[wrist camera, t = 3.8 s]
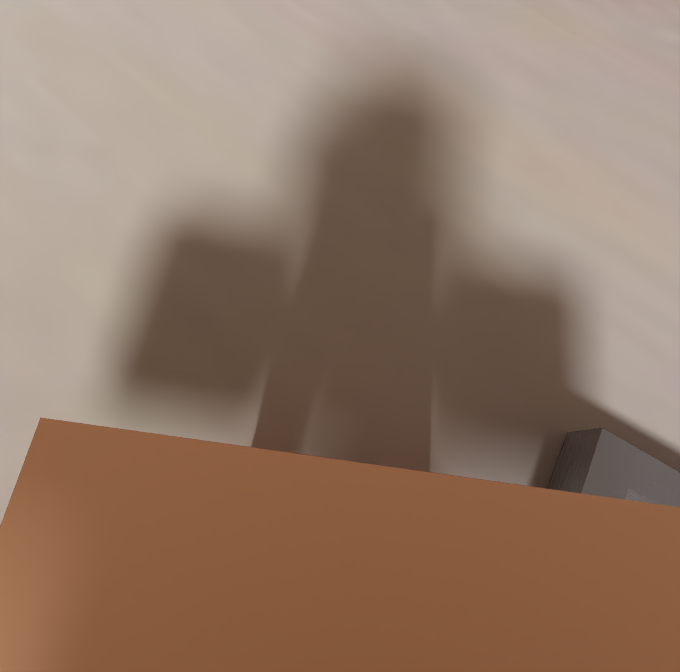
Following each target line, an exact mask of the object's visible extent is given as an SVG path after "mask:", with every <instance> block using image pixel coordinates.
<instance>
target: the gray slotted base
mask: <svg viewBox="0 0 680 672" xmlns="http://www.w3.org/2000/svg"><path fill="white" fill-rule="evenodd" d="M548 489H553V490H560V491H567V492H574V493H581V494H588V495H596V496H603V497H610V498H617V499H624V500H631V501H638V502H646V503H653V504H660V505H667V506H674V507H680V472H678V471H677V470H675V469H673V468H671V467H670V466H668V465H666V464H664V463H663V462H661V461H659V460H658V459H656V458H654V457H652V456H651V455H649V454H647V453H645V452H644V451H642V450H640V449H638V448H637V447H635V446H633V445H631V444H630V443H628V442H626V441H625V440H623V439H621V438H619V437H618V436H616V435H614V434H612V433H611V432H609V431H607V430H605V429H604V428H598V429H591V430H584V431H576V432H569V433H567V436H566V439H565V442H564V445H563V447H562V450H561V453H560V456H559V459H558V461H557V464H556V467H555V470H554V473H553V476H552V478H551V481H550V484H549V487H548Z"/></svg>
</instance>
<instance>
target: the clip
mask: <svg viewBox="0 0 680 672" xmlns="http://www.w3.org/2000/svg"><path fill="white" fill-rule="evenodd" d="M0 672H680V507H674V506H667V505H660V504H653V503H646V502H638V501H631V500H624V499H617V498H610V497H603V496H596V495H588V494H581V493H574V492H567V491H560V490H553V489H546V488H538V487H531V486H524V485H517V484H510V483H503V482H496V481H489V480H481V479H474V478H467V477H460V476H453V475H446V474H439V473H431V472H424V471H417V470H410V469H403V468H396V467H389V466H382V465H374V464H367V463H360V462H353V461H346V460H339V459H332V458H324V457H317V456H310V455H303V454H296V453H289V452H282V451H274V450H267V449H260V448H253V447H246V446H239V445H232V444H225V443H217V442H210V441H203V440H196V439H189V438H182V437H175V436H167V435H160V434H153V433H146V432H139V431H132V430H125V429H117V428H110V427H103V426H96V425H89V424H82V423H75V422H68V421H60V420H53V419H46V418H40V421H39V423H38V426H37V429H36V431H35V434H34V437H33V440H32V442H31V445H30V448H29V450H28V453H27V456H26V458H25V461H24V464H23V466H22V469H21V472H20V474H19V477H18V480H17V483H16V485H15V488H14V491H13V493H12V496H11V499H10V501H9V504H8V507H7V509H6V512H5V515H4V518H3V520H2V523H1V526H0Z"/></svg>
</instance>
